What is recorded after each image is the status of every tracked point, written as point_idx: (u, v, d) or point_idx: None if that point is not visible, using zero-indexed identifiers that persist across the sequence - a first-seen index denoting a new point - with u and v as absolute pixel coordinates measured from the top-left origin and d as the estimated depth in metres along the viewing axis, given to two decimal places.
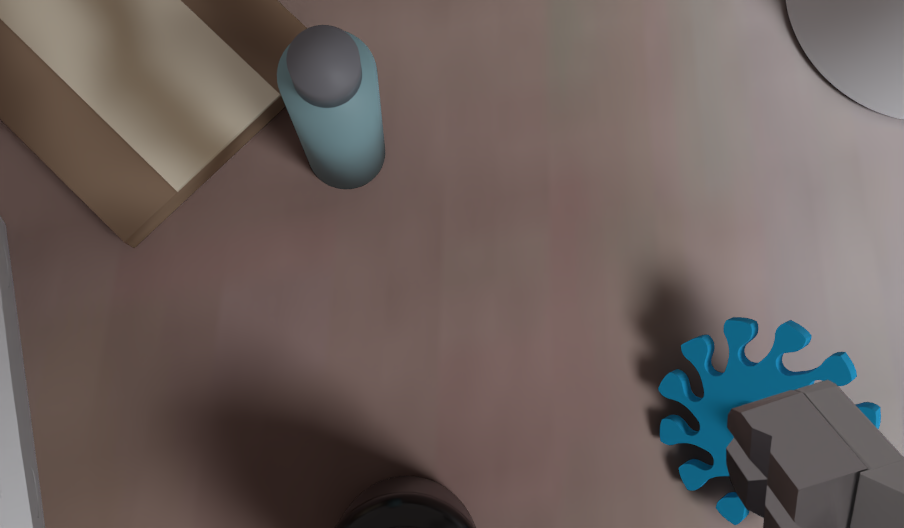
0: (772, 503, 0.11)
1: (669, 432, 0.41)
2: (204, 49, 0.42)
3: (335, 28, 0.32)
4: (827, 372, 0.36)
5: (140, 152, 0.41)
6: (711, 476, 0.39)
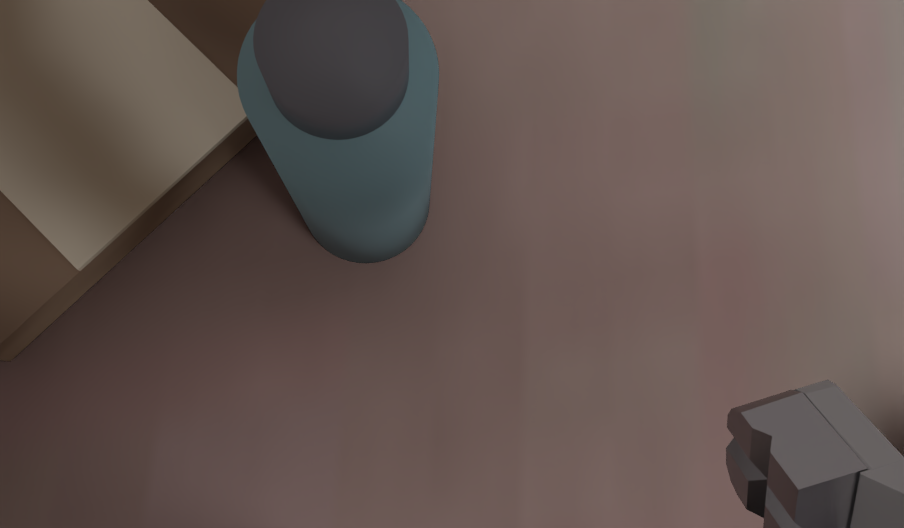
0: (772, 503, 0.11)
1: None
2: (131, 30, 0.25)
3: None
4: None
5: (18, 202, 0.24)
6: None
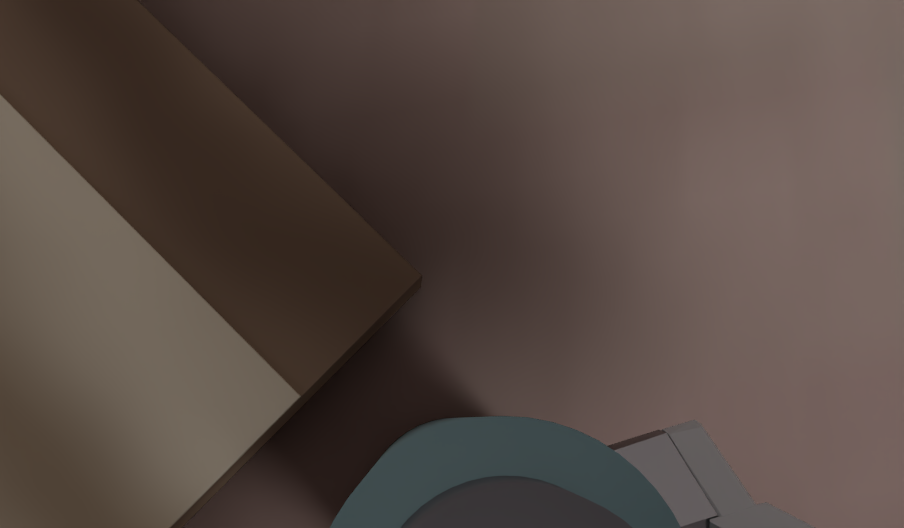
0: None
1: None
2: (111, 279, 0.17)
3: (579, 504, 0.07)
4: None
5: None
6: None
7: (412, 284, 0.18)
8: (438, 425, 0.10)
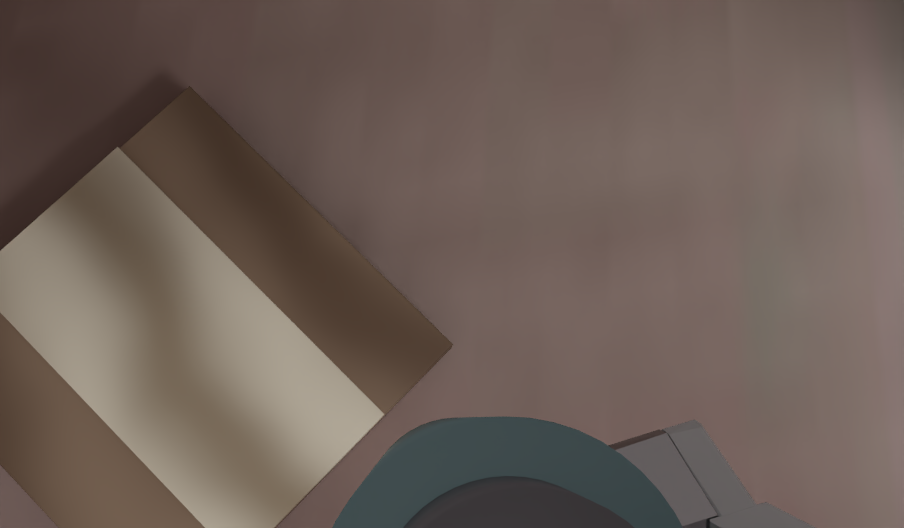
0: None
1: None
2: (277, 347, 0.30)
3: (581, 505, 0.07)
4: None
5: (187, 503, 0.29)
6: None
7: (447, 349, 0.30)
8: (440, 425, 0.10)
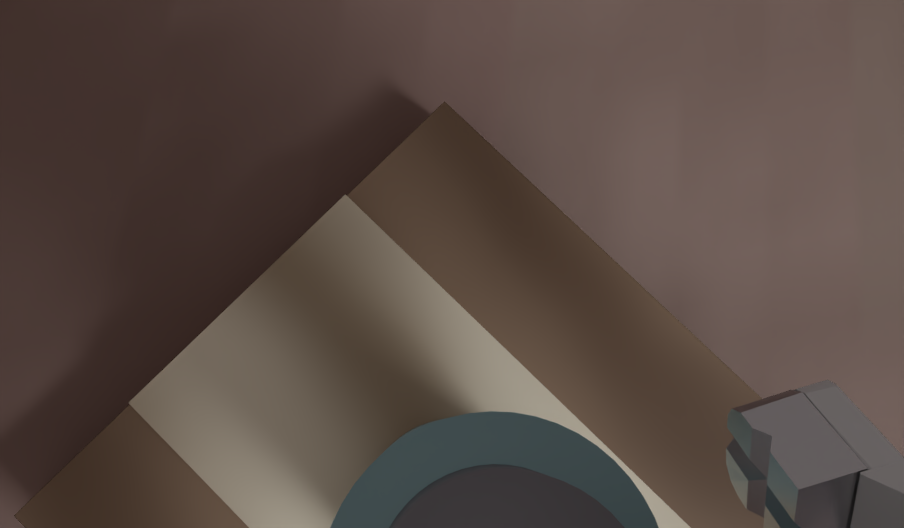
0: (772, 503, 0.11)
1: None
2: None
3: (556, 485, 0.08)
4: None
5: None
6: None
7: None
8: None
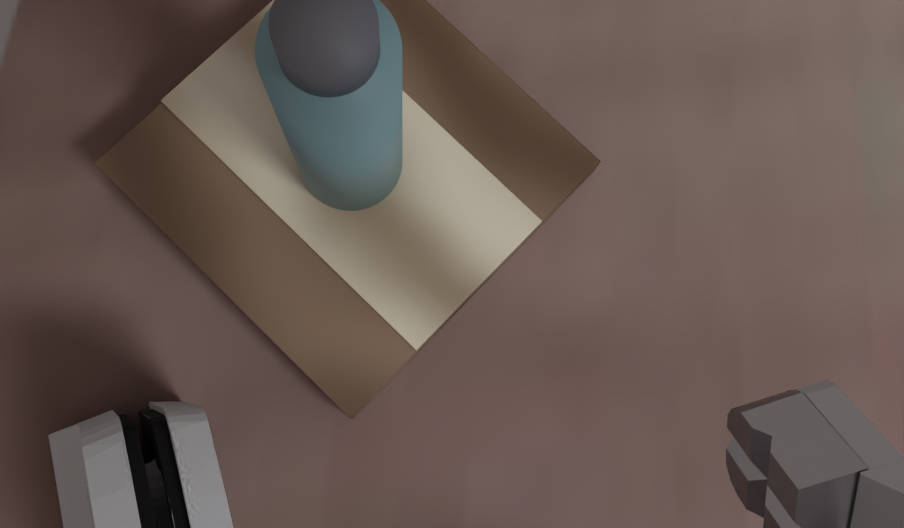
0: (772, 503, 0.11)
1: None
2: (442, 161, 0.33)
3: None
4: None
5: (367, 298, 0.32)
6: None
7: (595, 166, 0.33)
8: None
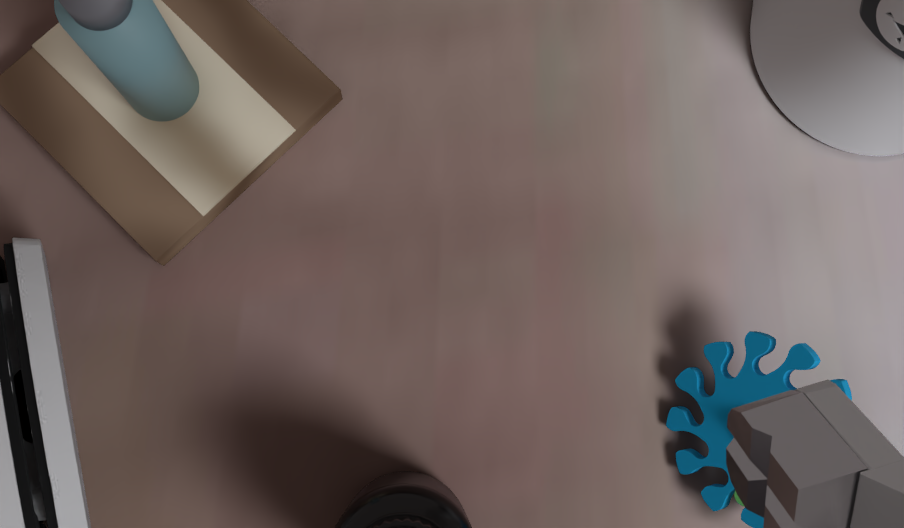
0: (772, 503, 0.11)
1: (675, 420, 0.46)
2: (227, 88, 0.47)
3: None
4: None
5: (170, 180, 0.46)
6: (703, 465, 0.44)
7: (336, 92, 0.48)
8: None
